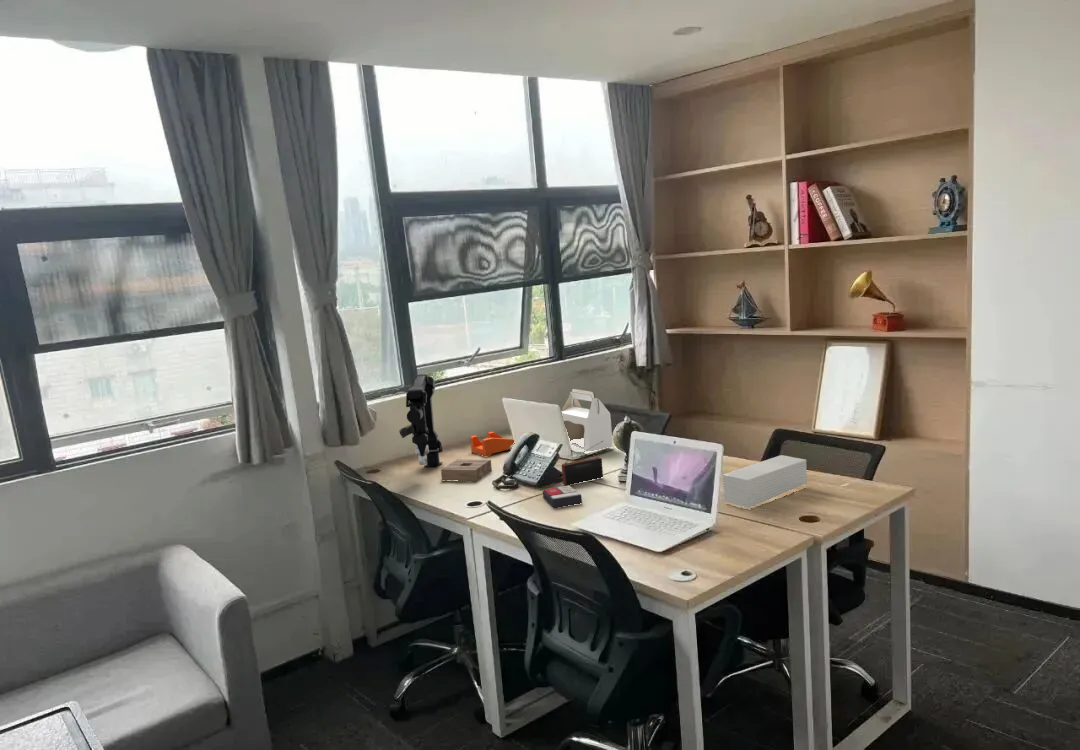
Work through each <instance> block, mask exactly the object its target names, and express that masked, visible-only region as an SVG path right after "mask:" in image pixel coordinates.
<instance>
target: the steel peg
mask: <svg viewBox="0 0 1080 750" xmlns="http://www.w3.org/2000/svg"><path fill="white" fill-rule="evenodd" d="M414 453H415V455H416V456H418V463H419V465H420V466H425V465H426V464H427V454H428V453H429V448H428V445H426V449H425V453H424V456H421V455H420V452H419V449H418V446H417V445H416V446H414Z"/></svg>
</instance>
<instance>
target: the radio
mask: <svg viewBox="0 0 1080 750" xmlns="http://www.w3.org/2000/svg"><path fill="white" fill-rule="evenodd" d="M601 442H603V441H601ZM601 442H600V443H601ZM598 444H599V443H598ZM596 445H597V444H596ZM596 445H595V446H596ZM593 447H594V446H593ZM591 448H592V447H591ZM589 449H590V448H589ZM589 449H588V450H589ZM586 451H587V450H586ZM584 452H585V451H584ZM584 452H582V453H584ZM582 453H578V454H577V455H576V456H574V457H572V458H570V459H569V460H567V461H565V462H564V463H562V464H561V473H562V474H561V475H562V485H563V484H564V485H563V486H565V485H570V484H574V483H579V482H583V481H588V480H592V479H597V478H601V477H603V478H604V471H603V459H602V458H601V457H598V456H596V457H591V458H587V459H581V460H576V461H571V460H573V459H576V458H577V457H578V456H580V455H583V454H582Z"/></svg>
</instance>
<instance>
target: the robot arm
mask: <svg viewBox="0 0 1080 750" xmlns="http://www.w3.org/2000/svg"><path fill="white" fill-rule="evenodd" d="M435 389H436V381H435V380H434V377H431V376H429V375H428V374H427V373H420V374H416V375H415V379H414V383H413V386H412V387H409V389H408V390H407V392H406V397H405V398H406V399H405V407H406V408H409V411H407V414H406V419H407V421H408V422H409V423H410V424H409V425H407V426H404V427H402V428H401V429H399V431H398V433H399V434H400V436H401V439H405V438H406V437H408V436H410V435H411V434H412V437H411V441H412V444H415V445H416V446H418V449H419V452H420V455H421V456H424V453H425V449H426V445H428V448H429V453H428V454H427V464H425V465H423V467H425V468H438V467H440V466H441V465H442V463H443V462H442V461H440V453H443V451H444V449H443V445H442V442H441V440H440V439H439V434H438V433H437V432H436V430H435V425H434V424H435V422H434V412H433V411H434V410H433V401H432V400H433V399H432V398H433V396H434V394H435ZM440 464H441V465H440ZM437 466H438V467H437Z"/></svg>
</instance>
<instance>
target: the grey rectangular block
mask: <svg viewBox="0 0 1080 750" xmlns="http://www.w3.org/2000/svg"><path fill="white" fill-rule="evenodd" d="M807 477H808V475H807V459H806V458H805V459H804V458H799V457H793V456H789V455H782V454H781V455H777V456H775V457H771V458H768V459H766V460H762V461H760V462H757V463H754V464H751V465H747V466H745V467H741V468H739V469H735V470H733V471H732V470H731V471H729V472H726V473H723V474H722V483H723V484H722V485H723V486H722V487H723V501H724V502H729V503H733V504H736V505H740V506H744V507H748V508H749V507H751V506H754V505H756V504H759V503H761V502H764V501H766V500H769V499H771V498H773V497H776V496H778V495H780V494H782V493H784V492H787V491H789V490H792V489H794V488H796V487H798V486H801V485H803V484H808V478H807Z"/></svg>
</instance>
